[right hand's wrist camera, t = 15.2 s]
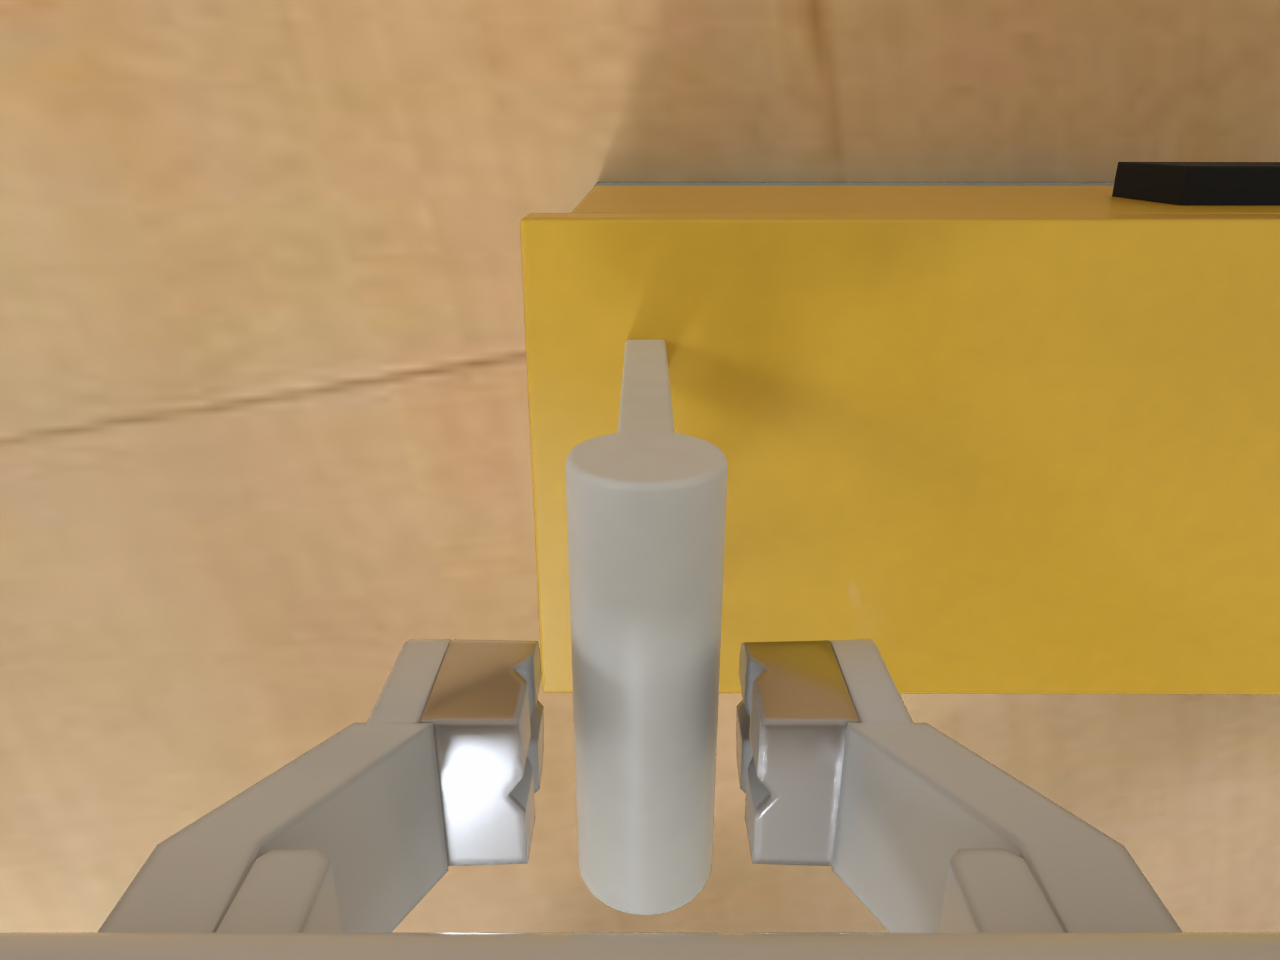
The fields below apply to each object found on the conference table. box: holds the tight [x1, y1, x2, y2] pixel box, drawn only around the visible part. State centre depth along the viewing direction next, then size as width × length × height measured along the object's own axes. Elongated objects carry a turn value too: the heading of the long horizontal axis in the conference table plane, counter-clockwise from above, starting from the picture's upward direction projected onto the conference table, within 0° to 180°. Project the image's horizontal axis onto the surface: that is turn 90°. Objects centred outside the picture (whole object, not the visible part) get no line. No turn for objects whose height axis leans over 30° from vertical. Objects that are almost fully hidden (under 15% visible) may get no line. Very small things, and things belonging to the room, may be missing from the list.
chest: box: [572, 182, 1280, 214], centre depth 22 cm, size 16×10×10 cm, turn 90°
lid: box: [520, 213, 1280, 915], centre depth 13 cm, size 16×9×8 cm, turn 90°
